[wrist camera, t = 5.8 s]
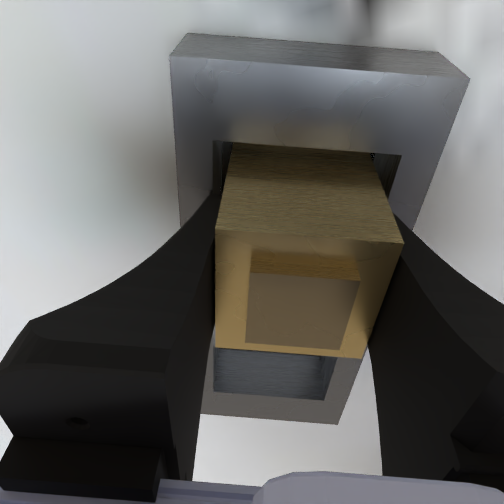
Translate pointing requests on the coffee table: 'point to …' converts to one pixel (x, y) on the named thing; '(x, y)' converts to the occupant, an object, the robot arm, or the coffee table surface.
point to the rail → (309, 136)
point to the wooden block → (302, 251)
